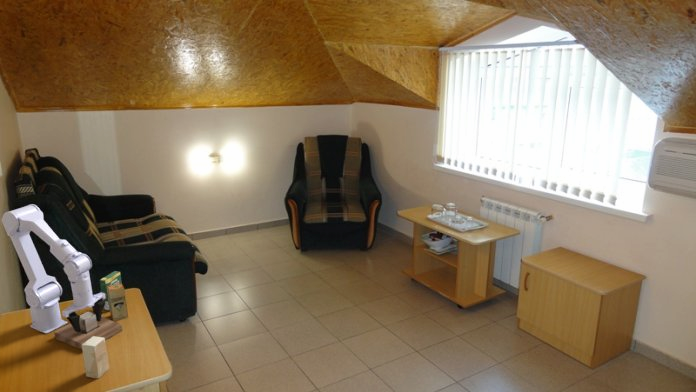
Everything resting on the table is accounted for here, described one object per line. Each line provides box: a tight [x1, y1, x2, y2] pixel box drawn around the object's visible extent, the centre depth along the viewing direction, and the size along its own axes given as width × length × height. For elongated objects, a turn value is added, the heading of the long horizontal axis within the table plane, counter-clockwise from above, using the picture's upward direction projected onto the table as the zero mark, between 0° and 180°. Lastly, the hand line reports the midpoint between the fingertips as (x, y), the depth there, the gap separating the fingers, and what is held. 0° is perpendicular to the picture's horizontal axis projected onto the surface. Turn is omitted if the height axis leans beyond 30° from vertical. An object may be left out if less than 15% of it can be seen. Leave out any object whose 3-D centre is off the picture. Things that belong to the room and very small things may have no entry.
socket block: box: [53, 316, 123, 351], centre depth 166 cm, size 16×14×2 cm
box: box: [81, 336, 110, 379], centre depth 145 cm, size 5×4×11 cm
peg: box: [79, 311, 98, 334], centre depth 165 cm, size 4×4×7 cm
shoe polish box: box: [107, 283, 129, 322], centre depth 176 cm, size 5×5×12 cm
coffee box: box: [99, 270, 123, 312], centre depth 183 cm, size 8×3×13 cm, turn 163°
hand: (87, 325), depth 165 cm, fingers open, 7 cm apart
